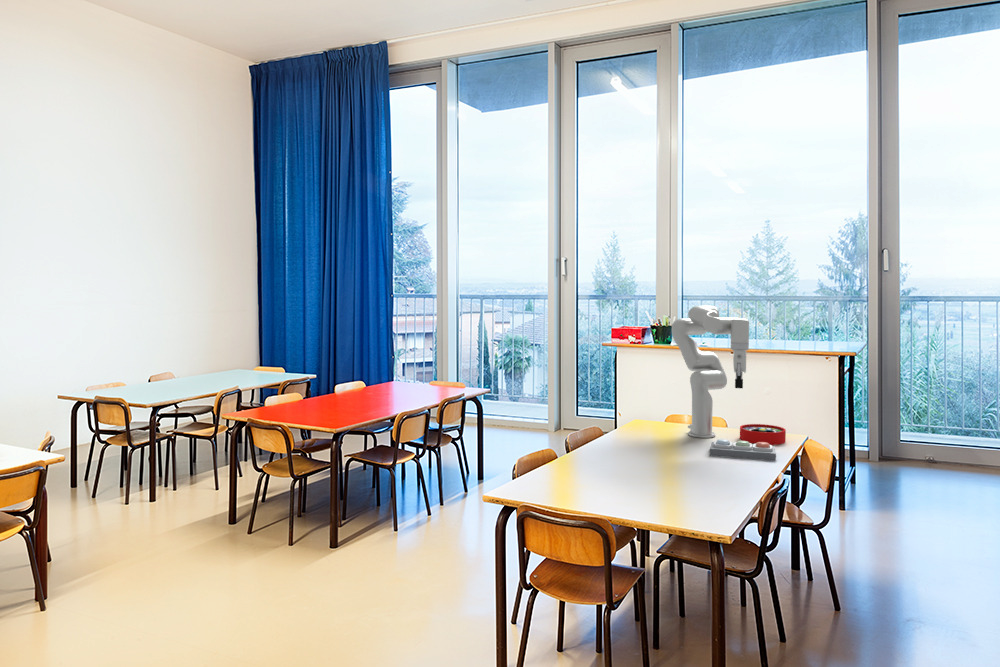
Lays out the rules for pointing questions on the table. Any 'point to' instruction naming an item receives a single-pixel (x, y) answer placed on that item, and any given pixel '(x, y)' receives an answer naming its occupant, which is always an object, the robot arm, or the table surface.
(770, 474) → the table surface
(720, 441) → the blue grey button
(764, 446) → the brick button
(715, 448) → the console
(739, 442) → the sage button
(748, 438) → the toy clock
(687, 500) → the table surface
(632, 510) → the table surface
